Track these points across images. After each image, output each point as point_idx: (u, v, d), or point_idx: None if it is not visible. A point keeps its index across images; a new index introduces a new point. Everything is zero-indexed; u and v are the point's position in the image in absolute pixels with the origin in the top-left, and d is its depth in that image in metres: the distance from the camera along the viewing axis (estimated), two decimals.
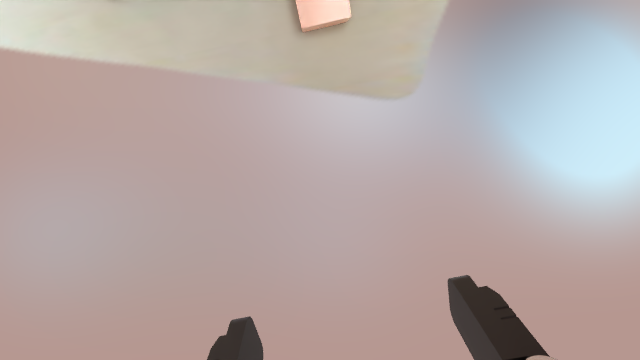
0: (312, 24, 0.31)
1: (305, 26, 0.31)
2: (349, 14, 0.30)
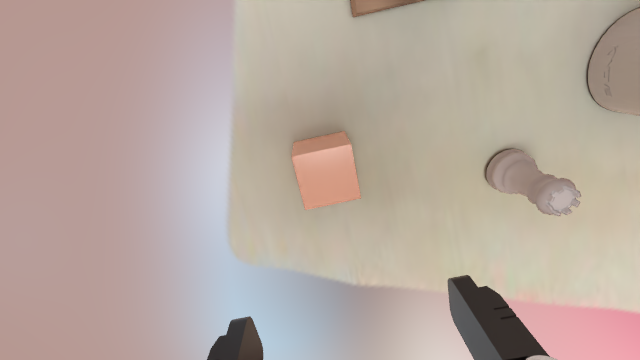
0: (296, 169, 0.26)
1: (293, 161, 0.26)
2: (307, 207, 0.27)
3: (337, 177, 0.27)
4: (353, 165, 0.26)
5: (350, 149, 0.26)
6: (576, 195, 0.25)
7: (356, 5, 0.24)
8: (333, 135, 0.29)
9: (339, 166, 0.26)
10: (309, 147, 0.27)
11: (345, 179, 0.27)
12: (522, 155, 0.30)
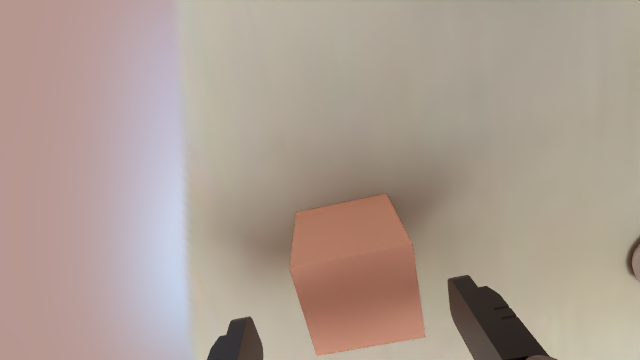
0: (299, 289, 0.13)
1: (294, 275, 0.13)
2: (321, 352, 0.14)
3: (381, 302, 0.13)
4: (414, 282, 0.13)
5: (410, 254, 0.12)
6: None
7: None
8: (367, 204, 0.16)
9: (386, 285, 0.13)
10: (325, 238, 0.14)
11: (397, 307, 0.13)
12: None
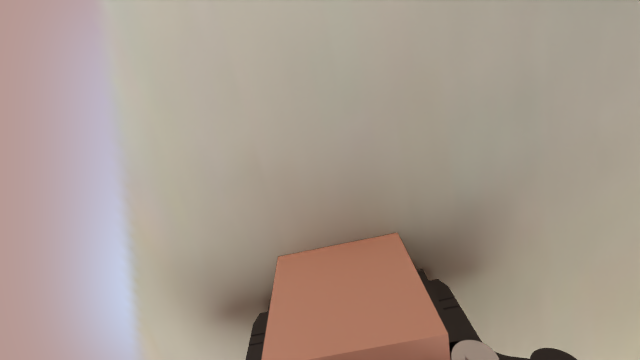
0: None
1: None
2: None
3: None
4: None
5: (444, 347, 0.08)
6: None
7: None
8: (373, 250, 0.12)
9: None
10: (315, 309, 0.10)
11: None
12: None
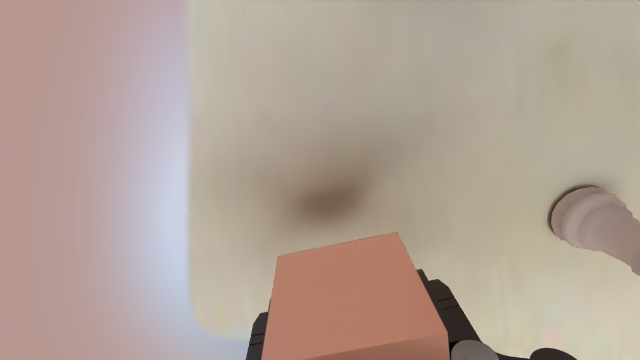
0: None
1: None
2: None
3: None
4: None
5: (443, 346, 0.08)
6: None
7: None
8: (373, 250, 0.12)
9: None
10: (315, 308, 0.10)
11: None
12: (610, 198, 0.21)
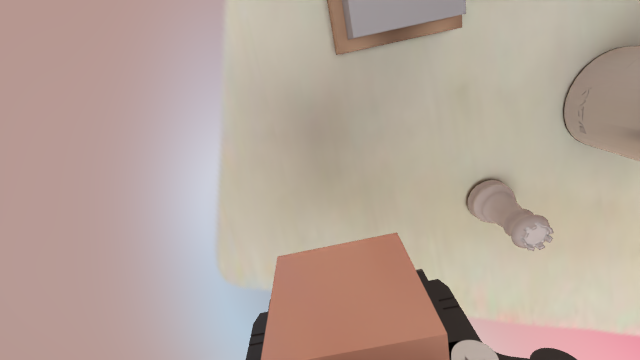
0: None
1: None
2: None
3: None
4: None
5: (443, 347, 0.08)
6: (549, 231, 0.26)
7: (338, 46, 0.25)
8: (373, 250, 0.12)
9: None
10: (314, 309, 0.10)
11: None
12: (501, 187, 0.31)
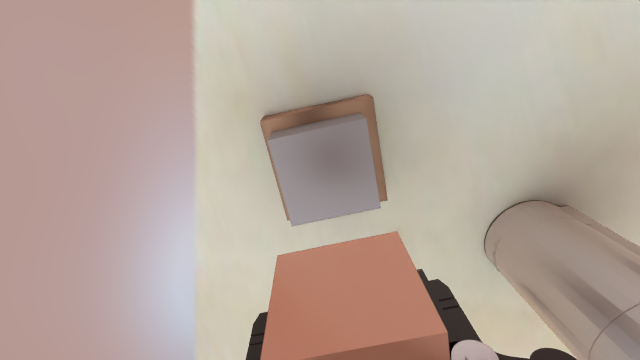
0: None
1: None
2: None
3: None
4: None
5: (443, 345, 0.08)
6: None
7: (286, 215, 0.31)
8: (373, 249, 0.12)
9: None
10: (314, 308, 0.10)
11: None
12: None
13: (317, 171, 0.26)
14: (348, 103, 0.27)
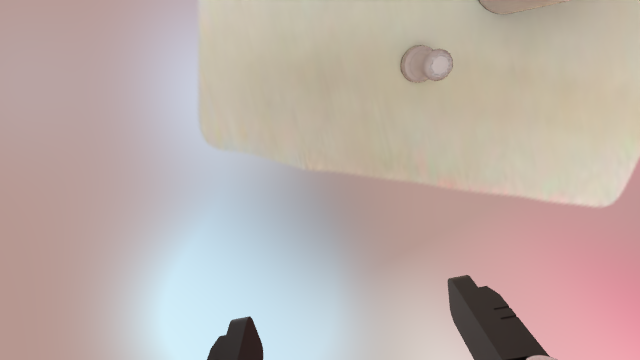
0: None
1: None
2: None
3: None
4: None
5: None
6: (449, 60, 0.33)
7: None
8: None
9: None
10: None
11: None
12: (425, 47, 0.38)
13: None
14: None
